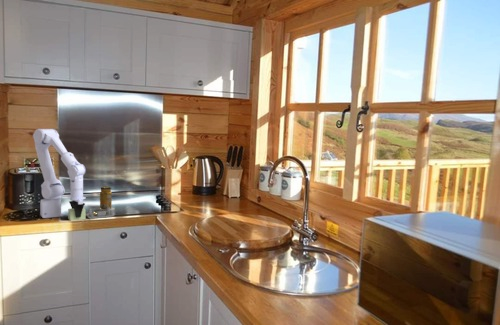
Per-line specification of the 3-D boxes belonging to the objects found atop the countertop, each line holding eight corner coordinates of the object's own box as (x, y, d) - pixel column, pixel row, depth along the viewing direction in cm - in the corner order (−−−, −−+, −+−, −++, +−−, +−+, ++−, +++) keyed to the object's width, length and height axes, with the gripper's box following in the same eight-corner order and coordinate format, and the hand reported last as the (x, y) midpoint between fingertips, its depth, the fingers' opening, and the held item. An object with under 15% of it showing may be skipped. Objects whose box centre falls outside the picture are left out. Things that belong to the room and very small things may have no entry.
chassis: (89, 218, 207) (89, 211, 206) (85, 215, 214) (85, 207, 213) (114, 216, 214) (114, 208, 213) (108, 212, 221) (108, 205, 220)
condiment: (109, 206, 237) (109, 185, 236) (115, 209, 230) (115, 188, 229) (96, 207, 232) (96, 186, 231) (102, 210, 226) (102, 189, 225)
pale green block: (70, 220, 202) (70, 210, 201) (68, 218, 205) (68, 208, 205) (85, 219, 206) (85, 209, 205) (83, 217, 209) (83, 207, 209)
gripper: (89, 190, 200) (89, 218, 202) (81, 186, 212) (81, 212, 213) (73, 191, 196) (73, 219, 198) (66, 187, 208) (67, 213, 209)
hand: (76, 216), depth 205 cm, fingers closed on pale green block, 4 cm apart
